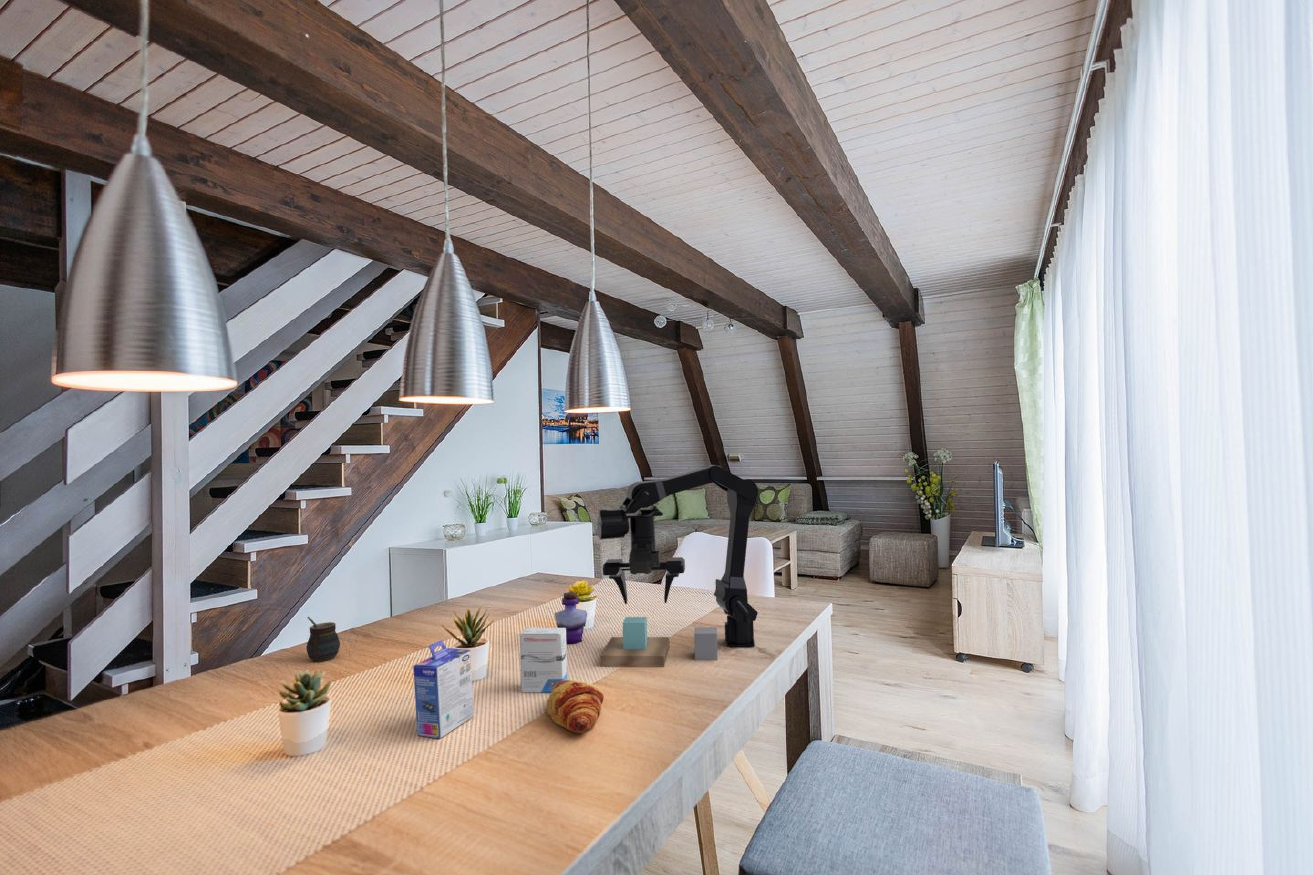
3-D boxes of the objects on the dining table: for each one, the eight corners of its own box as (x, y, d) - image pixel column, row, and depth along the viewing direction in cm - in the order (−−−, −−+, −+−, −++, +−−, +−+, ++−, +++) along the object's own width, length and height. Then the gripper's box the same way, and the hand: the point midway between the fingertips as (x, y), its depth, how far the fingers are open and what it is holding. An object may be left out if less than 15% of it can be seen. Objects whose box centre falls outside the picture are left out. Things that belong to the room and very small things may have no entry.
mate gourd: (331, 663, 153) (329, 620, 153) (299, 664, 153) (297, 621, 153) (346, 653, 160) (344, 612, 160) (315, 654, 160) (313, 613, 160)
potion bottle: (592, 636, 168) (591, 589, 169) (583, 646, 160) (581, 597, 160) (560, 635, 170) (559, 588, 170) (549, 645, 161) (547, 596, 162)
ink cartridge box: (449, 713, 122) (447, 634, 122) (475, 716, 120) (473, 636, 120) (413, 735, 112) (411, 650, 113) (440, 739, 111) (438, 653, 111)
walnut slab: (669, 649, 157) (669, 637, 157) (664, 669, 143) (663, 655, 143) (611, 649, 159) (611, 637, 159) (600, 669, 145) (600, 655, 145)
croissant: (552, 715, 128) (531, 681, 127) (596, 684, 131) (576, 651, 130) (569, 762, 108) (545, 722, 107) (621, 724, 111) (598, 685, 110)
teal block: (647, 642, 153) (646, 616, 153) (645, 649, 148) (644, 622, 148) (626, 642, 154) (625, 617, 154) (623, 649, 149) (622, 622, 149)
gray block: (717, 653, 152) (716, 627, 152) (717, 660, 147) (716, 633, 147) (695, 653, 152) (695, 627, 152) (695, 660, 147) (694, 633, 147)
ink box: (568, 684, 135) (566, 626, 135) (562, 693, 130) (561, 633, 130) (527, 683, 136) (526, 626, 136) (520, 692, 131) (518, 633, 131)
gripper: (596, 542, 146) (600, 613, 146) (680, 540, 144) (684, 611, 144) (605, 535, 157) (608, 601, 157) (683, 533, 155) (686, 599, 155)
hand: (645, 603), depth 153 cm, fingers open, 9 cm apart
